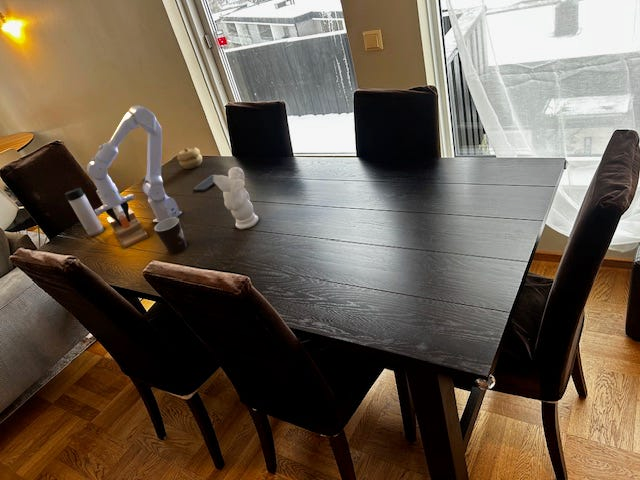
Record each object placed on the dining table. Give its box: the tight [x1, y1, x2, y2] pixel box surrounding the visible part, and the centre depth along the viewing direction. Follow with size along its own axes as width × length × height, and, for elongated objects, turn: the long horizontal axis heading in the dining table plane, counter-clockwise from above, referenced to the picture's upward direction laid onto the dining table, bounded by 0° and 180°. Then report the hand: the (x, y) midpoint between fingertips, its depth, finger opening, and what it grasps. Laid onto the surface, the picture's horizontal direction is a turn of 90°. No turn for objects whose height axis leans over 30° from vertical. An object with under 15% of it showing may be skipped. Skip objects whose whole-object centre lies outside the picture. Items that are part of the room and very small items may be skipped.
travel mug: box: [64, 187, 105, 237], centre depth 181 cm, size 6×7×20 cm
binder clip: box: [118, 213, 130, 229], centre depth 173 cm, size 4×2×5 cm, turn 34°
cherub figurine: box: [213, 166, 259, 230], centre depth 155 cm, size 12×12×22 cm
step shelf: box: [106, 207, 149, 249], centre depth 175 cm, size 20×10×6 cm, turn 34°
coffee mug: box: [153, 217, 188, 255], centre depth 156 cm, size 12×9×10 cm
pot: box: [176, 147, 203, 170], centre depth 225 cm, size 12×12×10 cm
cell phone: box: [193, 174, 221, 191], centre depth 203 cm, size 7×14×1 cm, turn 150°
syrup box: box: [95, 182, 123, 214], centre depth 191 cm, size 6×6×14 cm
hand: (124, 223), depth 174 cm, fingers open, 3 cm apart
